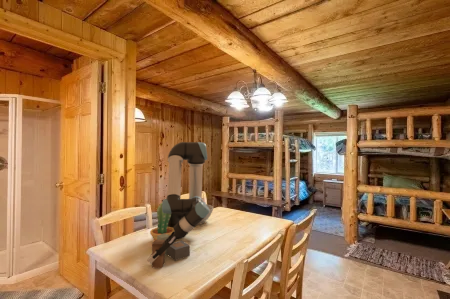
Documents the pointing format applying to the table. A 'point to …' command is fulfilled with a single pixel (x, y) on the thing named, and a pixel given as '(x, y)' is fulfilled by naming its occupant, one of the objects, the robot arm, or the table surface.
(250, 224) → the table surface
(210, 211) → the decorative bowl
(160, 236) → the sage block
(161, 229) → the potted cactus
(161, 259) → the walnut block
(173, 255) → the charcoal base block
